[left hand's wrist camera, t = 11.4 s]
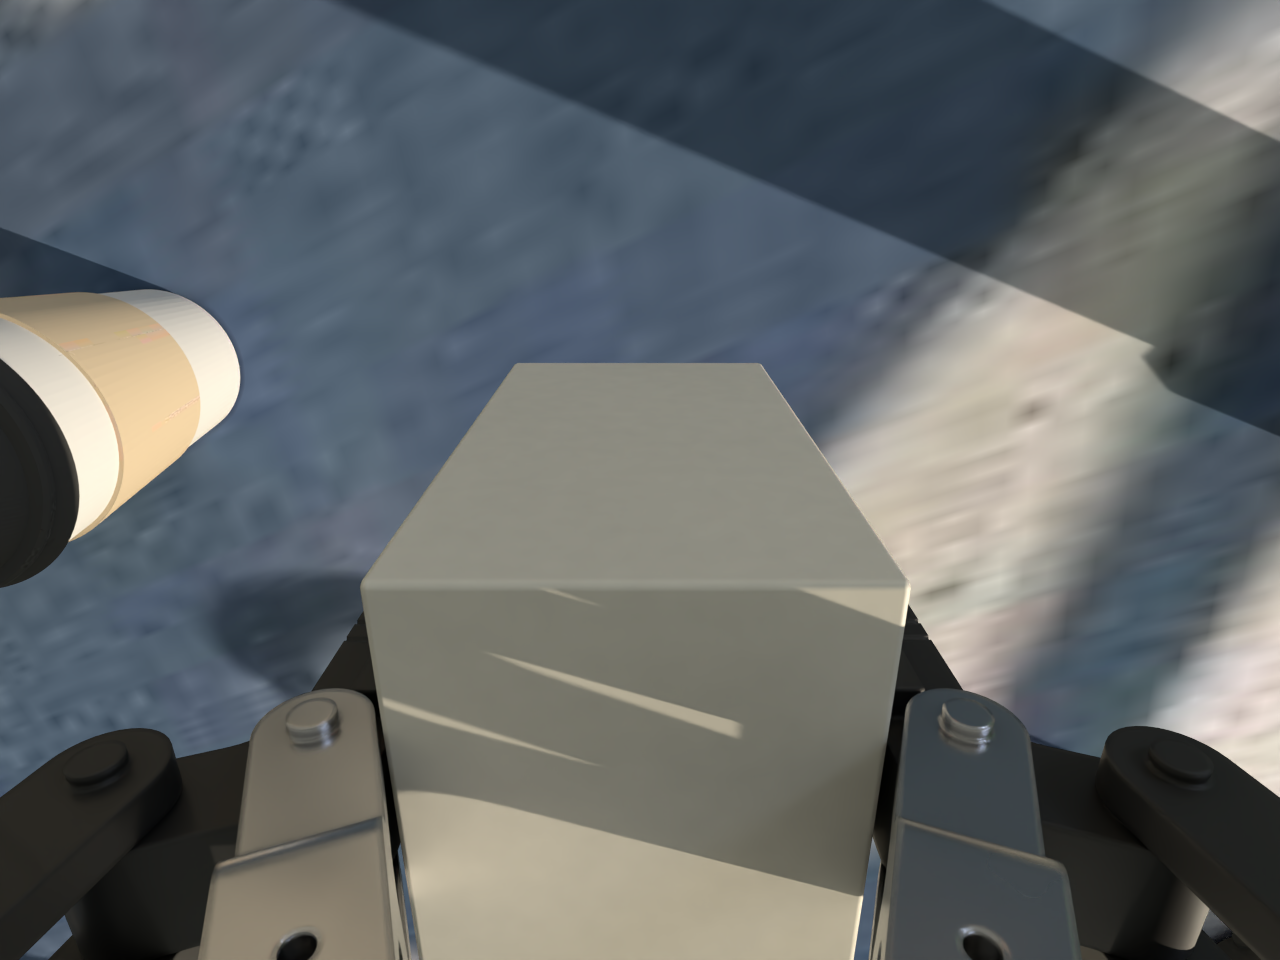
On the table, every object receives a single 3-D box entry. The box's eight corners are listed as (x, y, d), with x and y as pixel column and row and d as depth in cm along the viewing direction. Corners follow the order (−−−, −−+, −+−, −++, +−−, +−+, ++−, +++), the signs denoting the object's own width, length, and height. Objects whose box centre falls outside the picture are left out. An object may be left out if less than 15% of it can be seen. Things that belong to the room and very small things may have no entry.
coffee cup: (26, 374, 34) (-393, 506, 20) (118, 217, 31) (-286, 245, 18) (203, 493, 36) (-62, 686, 22) (302, 355, 34) (74, 477, 20)
